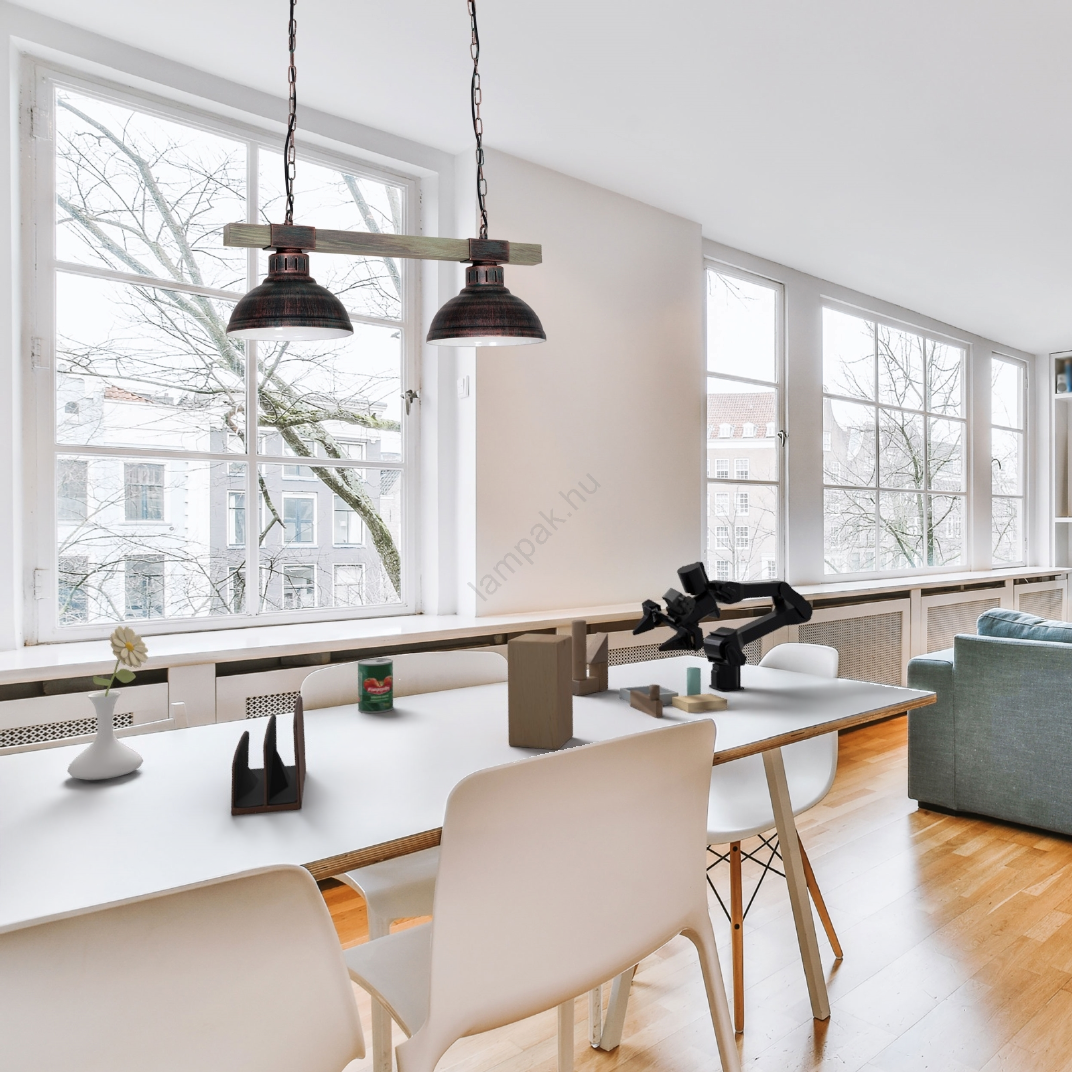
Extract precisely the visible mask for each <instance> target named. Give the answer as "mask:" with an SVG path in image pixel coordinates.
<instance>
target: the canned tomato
mask: <svg viewBox="0 0 1072 1072" xmlns="http://www.w3.org/2000/svg"><path fill="white" fill-rule="evenodd" d="M393 662H394V659H392V658H387V657H386V658H385V657H384V658H383V657H375V658H374V657H373V658H365V659H360V660H358V661H357V696H358V697H357V700H358V701H357V705H358V706H357V711H358V712H360V713H363V714H380V713H386V712H390V711H392V710H393V709H394V670H393V669H394V664H393Z"/></svg>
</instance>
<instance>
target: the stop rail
mask: <svg viewBox="0 0 1072 1072" xmlns="http://www.w3.org/2000/svg"><path fill="white" fill-rule="evenodd" d="M648 686H649V695H647V694H644V693H642V692H639V691H637V690H634V691H630V703H629V705H630V707H631V708H633V709H636V710H638V711H640V712H642V713H644V714H646V715H649V716H651V717H653V718H656V719H659V718H663V717H664V715H663V711H664V710H663V709H664V708H663V706H664V705H663V701H661V700H660V686H661V685H659V684H649V685H648Z"/></svg>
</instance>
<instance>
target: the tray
mask: <svg viewBox="0 0 1072 1072" xmlns="http://www.w3.org/2000/svg"><path fill="white" fill-rule="evenodd" d="M634 690H637V691H639V692H642V693H644V694H647V695H649V685H643V686H642V685H641V686H631V687H630V686H629V687H620V688H619V699H620V700H622V701H624V702H626V703H628V704H630V691H634ZM678 696H679V692H677V691H675V690H672V689H669V688H668V687H667V688H666V687H664V686H662V685H660V700H661V701H663V706H669V705H672V697H678Z"/></svg>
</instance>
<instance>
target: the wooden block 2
mask: <svg viewBox="0 0 1072 1072" xmlns="http://www.w3.org/2000/svg"><path fill="white" fill-rule="evenodd" d="M571 636H572V680H573V696H579V697H580V696H586V695H589V694H594V693H598V692H603V691H607V690H609V662H608V661H609V633H607V632H599V631H598V632H596V633H595V636H593V638H592V640H591V642H590V644H589V645H588V647H587V642H588V641H587V620H585V619H573V620H571ZM587 669H588V671H587ZM587 672H588V673H587Z"/></svg>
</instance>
